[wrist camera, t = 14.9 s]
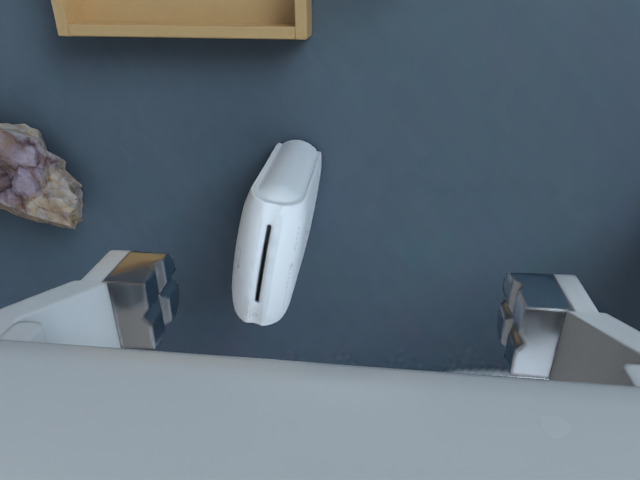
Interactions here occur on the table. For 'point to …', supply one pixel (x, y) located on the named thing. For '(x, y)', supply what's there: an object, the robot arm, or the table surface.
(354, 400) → the robot arm
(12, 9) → the table surface
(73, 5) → the tray
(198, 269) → the table surface
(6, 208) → the mineral specimen
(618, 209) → the table surface
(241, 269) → the photo printer
